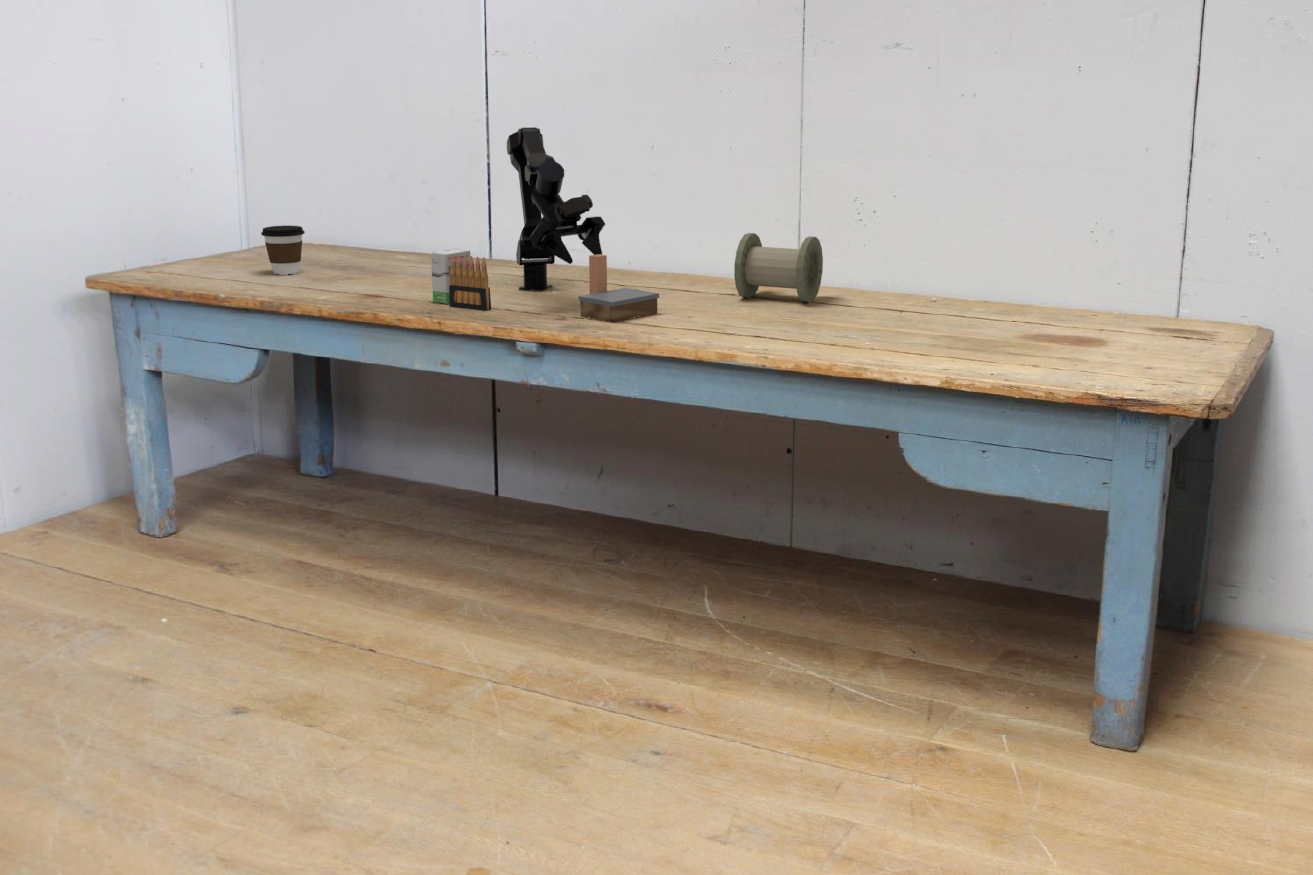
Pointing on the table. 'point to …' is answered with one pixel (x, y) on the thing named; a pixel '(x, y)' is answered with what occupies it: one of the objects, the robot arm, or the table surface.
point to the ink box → (444, 272)
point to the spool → (778, 267)
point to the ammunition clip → (469, 285)
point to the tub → (618, 310)
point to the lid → (613, 296)
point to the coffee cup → (284, 248)
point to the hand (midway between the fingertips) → (586, 260)
